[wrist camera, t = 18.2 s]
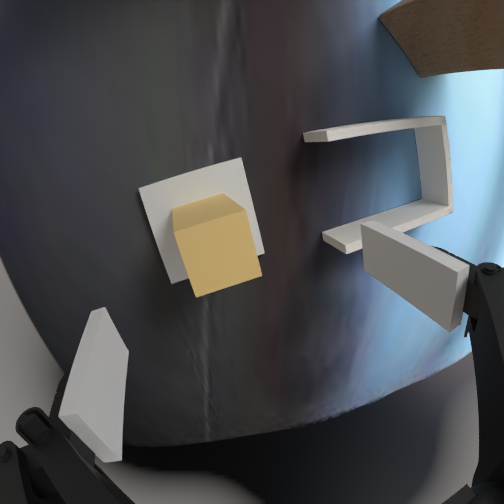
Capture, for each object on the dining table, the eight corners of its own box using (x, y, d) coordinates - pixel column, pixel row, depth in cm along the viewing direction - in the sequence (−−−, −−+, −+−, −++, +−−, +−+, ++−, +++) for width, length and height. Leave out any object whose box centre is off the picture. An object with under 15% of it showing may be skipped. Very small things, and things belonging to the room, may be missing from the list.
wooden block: (419, 78, 31) (550, 70, 12) (375, 17, 27) (503, -28, 8) (447, 50, 30) (557, 39, 12) (409, -5, 26) (517, -39, 8)
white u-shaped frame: (302, 132, 29) (326, 130, 25) (416, 116, 32) (444, 116, 28) (323, 240, 34) (346, 254, 29) (427, 204, 37) (453, 212, 32)
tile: (139, 187, 27) (138, 188, 26) (239, 157, 29) (241, 157, 28) (171, 281, 31) (171, 283, 30) (263, 251, 32) (264, 253, 32)
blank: (172, 208, 28) (173, 232, 20) (222, 192, 29) (245, 209, 20) (187, 256, 30) (196, 297, 21) (235, 241, 30) (262, 275, 22)
